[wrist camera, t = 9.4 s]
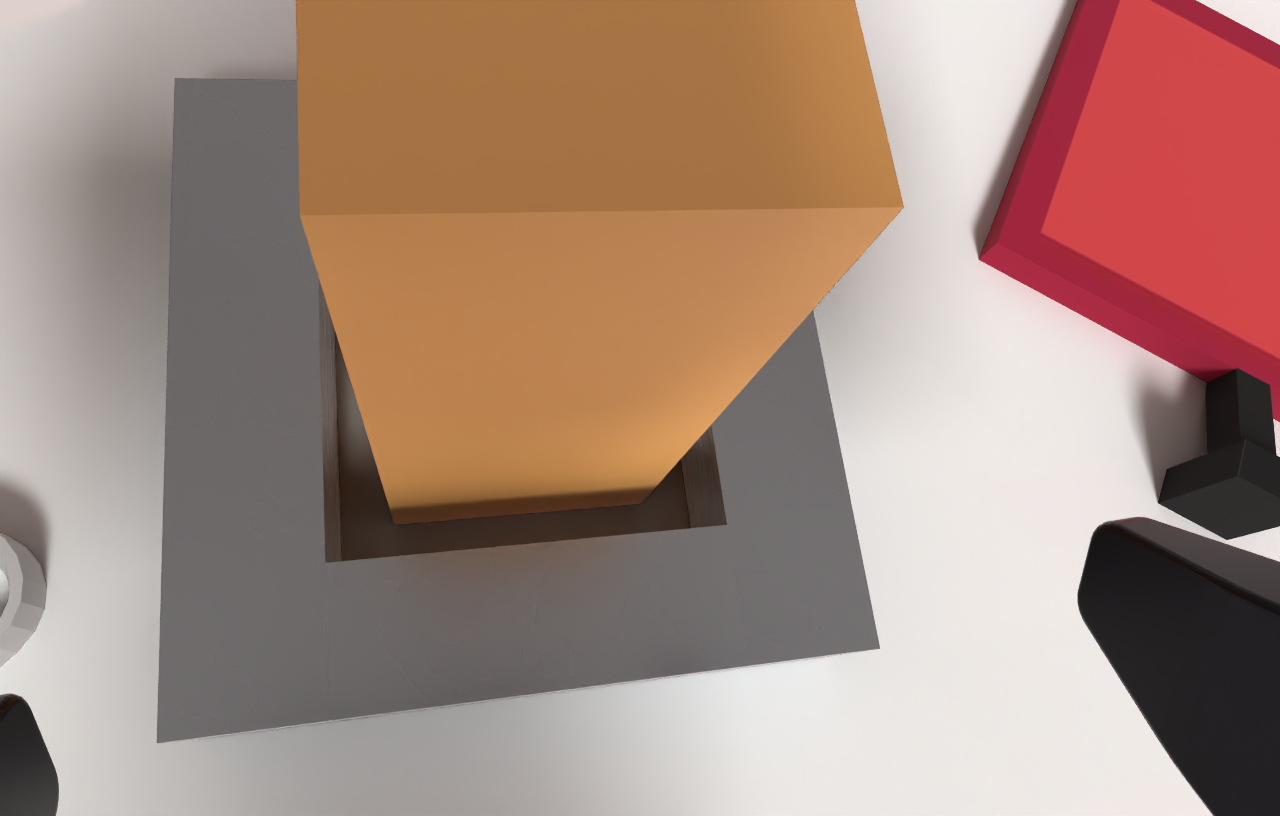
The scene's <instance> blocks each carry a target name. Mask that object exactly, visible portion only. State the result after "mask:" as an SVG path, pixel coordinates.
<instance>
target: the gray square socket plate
mask: <svg viewBox="0 0 1280 816" xmlns="http://www.w3.org/2000/svg"><path fill="white" fill-rule="evenodd" d="M681 465H682V472H683V478H684V485H685V492H686V499H687V506H688V513H689V520H690V527H691V528H688V529H678V530H667V531H656V532H646V533H635V534H625V535H614V536H604V537H593V538H582V539H572V540H561V541H551V542H540V543H530V544H519V545H508V546H498V547H487V548H477V549H466V550H455V551H445V552H434V553H424V554H413V555H403V556H392V557H381V558H371V559H360V560H350V561H342V555H341V523H340V490H339V458H338V425H337V393H336V361H335V329H334V325H333V322H332V319H331V315H330V312H329V309H328V306H327V302H326V299H325V296H324V293H323V289H322V286H321V283H320V280H319V276H318V273H317V270H316V267H315V263H314V260H313V257H312V254H311V250H310V247H309V244H308V240H307V237H306V234H305V231H304V227H303V224H302V221H301V218H300V197H299V140H298V84H297V80H250V79H187V78H175V91H174V128H173V165H172V202H171V240H170V277H169V314H168V351H167V388H166V425H165V462H164V499H163V536H162V573H161V610H160V647H159V684H158V721H157V743H164V742H175V741H185V740H196V739H204V738H212V737H220V736H227V735H235V734H242V733H250V732H258V731H265V730H273V729H281V728H288V727H296V726H303V725H311V724H319V723H326V722H334V721H342V720H349V719H357V718H364V717H372V716H380V715H387V714H395V713H403V712H410V711H418V710H425V709H433V708H441V707H448V706H456V705H464V704H471V703H479V702H486V701H494V700H502V699H509V698H517V697H525V696H532V695H540V694H547V693H555V692H563V691H570V690H578V689H586V688H593V687H601V686H608V685H616V684H624V683H631V682H639V681H647V680H654V679H662V678H669V677H677V676H685V675H692V674H700V673H708V672H715V671H723V670H730V669H738V668H746V667H753V666H761V665H769V664H776V663H784V662H791V661H799V660H807V659H814V658H822V657H829V656H836V655H842V654H848V653H855V652H861V651H868V650H874V649H880V646H879V641H878V636H877V631H876V626H875V621H874V616H873V611H872V605H871V600H870V595H869V590H868V585H867V580H866V575H865V570H864V565H863V560H862V555H861V550H860V545H859V540H858V535H857V530H856V525H855V520H854V515H853V510H852V505H851V500H850V495H849V490H848V485H847V479H846V474H845V469H844V464H843V459H842V454H841V449H840V444H839V439H838V434H837V429H836V424H835V419H834V414H833V409H832V404H831V399H830V394H829V389H828V384H827V379H826V374H825V369H824V364H823V358H822V353H821V348H820V343H819V338H818V333H817V328H816V323H815V318H814V313H813V310H812V311H811V313H810V314H809V315H808V316H807V317H806V318H805V319H804V320H803V322H802V323H801V324H800V325H799V326H798V327H797V328H796V329H795V331H794V332H793V333H792V334H791V335H790V336H789V337H788V339H787V340H786V341H785V342H784V343H783V344H782V345H781V346H780V348H779V349H778V350H777V351H776V352H775V353H774V354H773V355H772V357H771V358H770V359H769V360H768V361H767V362H766V363H765V364H764V366H763V367H762V368H761V369H760V370H759V371H758V372H757V373H756V375H755V376H754V377H753V378H752V379H751V380H750V381H749V382H748V384H747V385H746V386H745V387H744V388H743V389H742V390H741V392H740V393H739V394H738V395H737V396H736V397H735V398H734V399H733V401H732V402H731V403H730V404H729V405H728V406H727V407H726V408H725V410H724V411H723V412H722V413H721V414H720V415H719V416H718V417H717V419H716V420H715V421H714V422H713V423H712V424H711V425H710V426H709V428H708V429H707V430H706V431H705V432H704V433H703V434H702V435H701V437H700V438H699V439H698V440H697V441H696V442H695V443H694V445H693V446H692V447H691V448H690V449H689V450H688V451H687V452H686V454H685V455H684V456H683V457H682V458H681Z"/></svg>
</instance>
